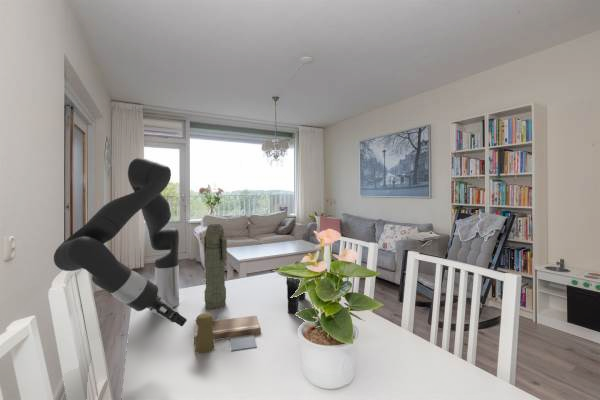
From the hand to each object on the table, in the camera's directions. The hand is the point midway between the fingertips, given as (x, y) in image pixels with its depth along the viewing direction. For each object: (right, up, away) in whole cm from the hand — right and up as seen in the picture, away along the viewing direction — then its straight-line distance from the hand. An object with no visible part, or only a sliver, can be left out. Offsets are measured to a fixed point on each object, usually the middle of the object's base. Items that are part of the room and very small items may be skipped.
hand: (177, 318), depth 86 cm
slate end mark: (+17, -12, +10) cm, 24 cm away
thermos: (0, -11, +40) cm, 41 cm away
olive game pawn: (+6, -12, +7) cm, 15 cm away
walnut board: (+10, -12, +18) cm, 24 cm away
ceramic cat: (+35, -11, +40) cm, 54 cm away
